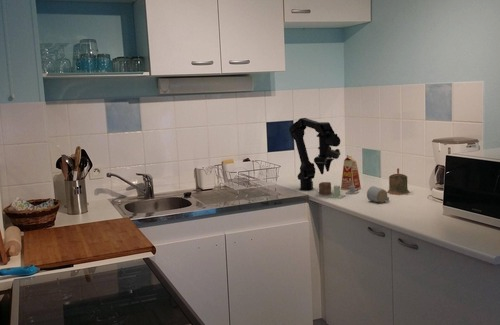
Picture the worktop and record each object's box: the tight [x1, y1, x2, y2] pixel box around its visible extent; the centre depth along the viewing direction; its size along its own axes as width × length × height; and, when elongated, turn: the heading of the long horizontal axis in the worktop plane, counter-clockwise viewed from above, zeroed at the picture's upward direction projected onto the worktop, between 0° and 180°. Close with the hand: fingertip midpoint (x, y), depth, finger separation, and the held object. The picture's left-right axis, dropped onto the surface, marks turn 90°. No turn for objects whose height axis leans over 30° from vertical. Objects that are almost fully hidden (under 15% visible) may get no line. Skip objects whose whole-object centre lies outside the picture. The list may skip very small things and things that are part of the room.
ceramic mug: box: [366, 185, 390, 204], centre depth 263 cm, size 11×8×8 cm
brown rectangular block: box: [318, 181, 332, 196], centre depth 289 cm, size 5×5×6 cm
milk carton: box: [340, 154, 362, 191], centre depth 297 cm, size 9×9×20 cm
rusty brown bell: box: [387, 167, 410, 196], centre depth 285 cm, size 12×18×12 cm, turn 164°
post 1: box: [328, 184, 346, 199], centre depth 279 cm, size 7×7×6 cm
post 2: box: [345, 185, 360, 195], centre depth 287 cm, size 6×6×4 cm
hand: (325, 172), depth 288 cm, fingers open, 9 cm apart
